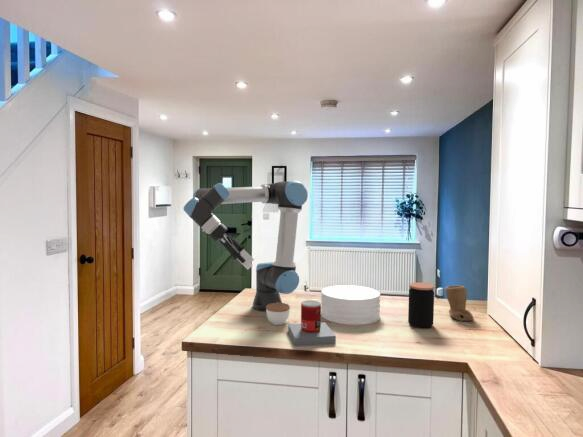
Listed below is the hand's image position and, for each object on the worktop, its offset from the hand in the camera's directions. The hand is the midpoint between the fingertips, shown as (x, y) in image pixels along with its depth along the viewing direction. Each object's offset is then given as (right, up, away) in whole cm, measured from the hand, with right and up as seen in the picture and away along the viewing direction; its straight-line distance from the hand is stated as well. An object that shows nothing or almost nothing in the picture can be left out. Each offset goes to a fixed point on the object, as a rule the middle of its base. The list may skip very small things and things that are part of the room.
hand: (251, 264), depth 156 cm
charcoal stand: (+25, -29, -6) cm, 39 cm away
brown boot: (+97, -28, +22) cm, 104 cm away
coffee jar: (+75, -29, +10) cm, 81 cm away
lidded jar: (+11, -28, +11) cm, 32 cm away
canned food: (+25, -26, -6) cm, 36 cm away
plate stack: (+45, -28, +23) cm, 58 cm away
